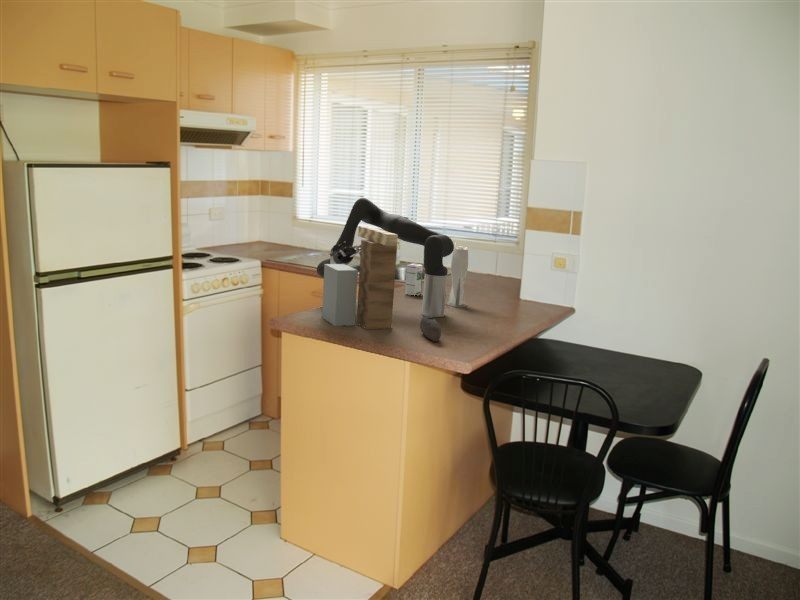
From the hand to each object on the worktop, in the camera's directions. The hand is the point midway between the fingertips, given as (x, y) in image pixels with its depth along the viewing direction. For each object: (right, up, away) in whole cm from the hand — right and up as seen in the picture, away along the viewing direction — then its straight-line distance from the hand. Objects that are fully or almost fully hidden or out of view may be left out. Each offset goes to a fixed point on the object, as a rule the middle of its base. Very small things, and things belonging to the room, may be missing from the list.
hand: (355, 243), depth 268 cm
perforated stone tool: (+29, -37, -26) cm, 54 cm away
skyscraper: (+43, -25, +34) cm, 60 cm away
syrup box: (+24, -20, +50) cm, 59 cm away
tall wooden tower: (+8, -32, -14) cm, 36 cm away
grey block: (-6, -31, -11) cm, 33 cm away
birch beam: (+9, 0, -18) cm, 21 cm away
